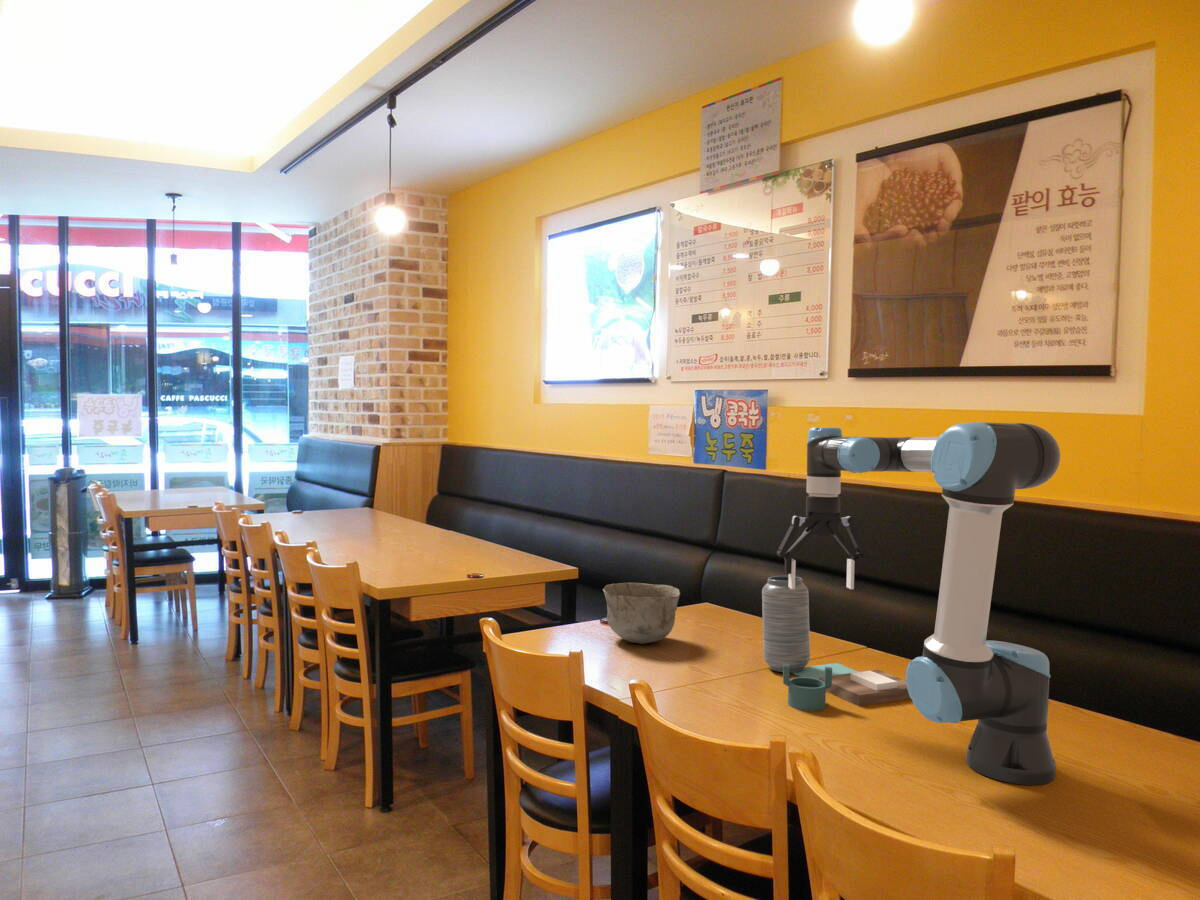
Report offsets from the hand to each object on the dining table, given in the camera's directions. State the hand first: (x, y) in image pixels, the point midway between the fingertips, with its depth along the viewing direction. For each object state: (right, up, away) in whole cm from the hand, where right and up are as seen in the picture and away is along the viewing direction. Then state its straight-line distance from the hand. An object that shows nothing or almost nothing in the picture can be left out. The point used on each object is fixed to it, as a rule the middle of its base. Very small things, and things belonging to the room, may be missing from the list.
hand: (820, 588), depth 200 cm
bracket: (-4, -26, -2) cm, 26 cm away
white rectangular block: (+14, -23, +6) cm, 28 cm away
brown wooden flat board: (+13, -26, +7) cm, 30 cm away
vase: (-3, -24, +24) cm, 35 cm away
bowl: (-39, -23, +49) cm, 67 cm away
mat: (+7, -25, +20) cm, 33 cm away
